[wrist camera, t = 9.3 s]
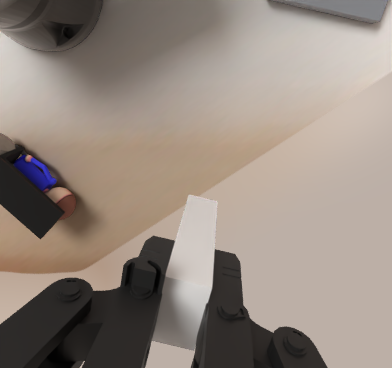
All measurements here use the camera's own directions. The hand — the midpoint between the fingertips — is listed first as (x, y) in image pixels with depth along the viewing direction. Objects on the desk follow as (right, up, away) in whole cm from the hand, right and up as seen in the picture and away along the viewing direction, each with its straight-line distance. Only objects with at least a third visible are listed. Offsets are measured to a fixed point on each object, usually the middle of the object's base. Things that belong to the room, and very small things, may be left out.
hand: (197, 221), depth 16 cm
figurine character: (-25, +3, +33) cm, 41 cm away
